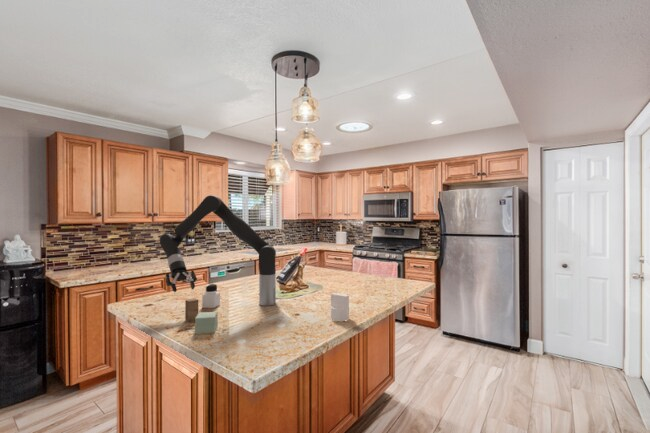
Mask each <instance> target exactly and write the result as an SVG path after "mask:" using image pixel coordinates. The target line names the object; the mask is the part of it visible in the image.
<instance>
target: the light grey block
mask: <svg viewBox="0 0 650 433" xmlns="http://www.w3.org/2000/svg"><path fill="white" fill-rule="evenodd" d="M349 298H350V295H349V294H345V293H338V292H332V293H331V294H330V320H331V319H332V320H334V321H333V322H335V321H345V320H348V319H349V320H350V299H349ZM332 320H331V321H332ZM349 320H348V321H349Z"/></svg>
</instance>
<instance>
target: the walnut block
mask: <svg viewBox="0 0 650 433" xmlns="http://www.w3.org/2000/svg"><path fill="white" fill-rule="evenodd" d="M184 301H185V302H184V304H185V307H184V310H185V313H184V314H185V322H187V323H189V324H190V323H194V322H195V318H196V316H197V315H198V313H199V299H197V298H196V297H193V298H188V299H185V300H184Z"/></svg>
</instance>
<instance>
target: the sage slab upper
mask: <svg viewBox="0 0 650 433" xmlns="http://www.w3.org/2000/svg"><path fill="white" fill-rule="evenodd" d="M218 316H219V314H218V311H208V312H207V311H206V312H205V311H204V312H198V315H197V316H196V318H195V324H194V328H195V327H196V326H212V325H215V324H216V322H217V319H218ZM218 320H219V319H218Z"/></svg>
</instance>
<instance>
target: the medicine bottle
mask: <svg viewBox="0 0 650 433" xmlns="http://www.w3.org/2000/svg"><path fill="white" fill-rule="evenodd" d="M201 299H202V300H201V307H202V308H203V309H216V308H217V307H218V306H220V304H221V292H220V291H218V285H217V284H214V283H210V284H206V285H205V293H203V294H202V297H201Z"/></svg>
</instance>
